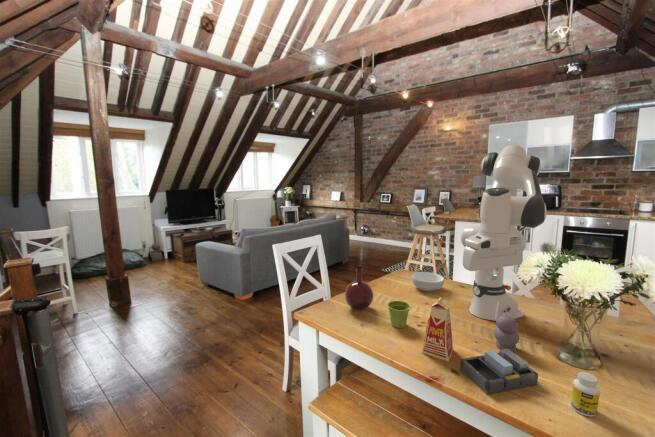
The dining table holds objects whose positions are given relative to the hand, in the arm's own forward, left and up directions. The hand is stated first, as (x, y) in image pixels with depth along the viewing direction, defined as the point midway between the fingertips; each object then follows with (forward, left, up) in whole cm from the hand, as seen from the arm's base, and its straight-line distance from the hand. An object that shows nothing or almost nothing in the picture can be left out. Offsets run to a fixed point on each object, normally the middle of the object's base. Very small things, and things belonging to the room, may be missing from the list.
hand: (492, 280), depth 101 cm
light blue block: (+4, +9, -27) cm, 28 cm away
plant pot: (+19, -29, -28) cm, 45 cm away
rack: (+4, +9, -28) cm, 30 cm away
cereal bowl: (-14, -62, -28) cm, 70 cm away
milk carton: (+14, -8, -28) cm, 32 cm away
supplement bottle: (-8, +26, -28) cm, 39 cm away
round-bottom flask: (+30, -48, -28) cm, 63 cm away
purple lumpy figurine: (-11, -4, -28) cm, 31 cm away
